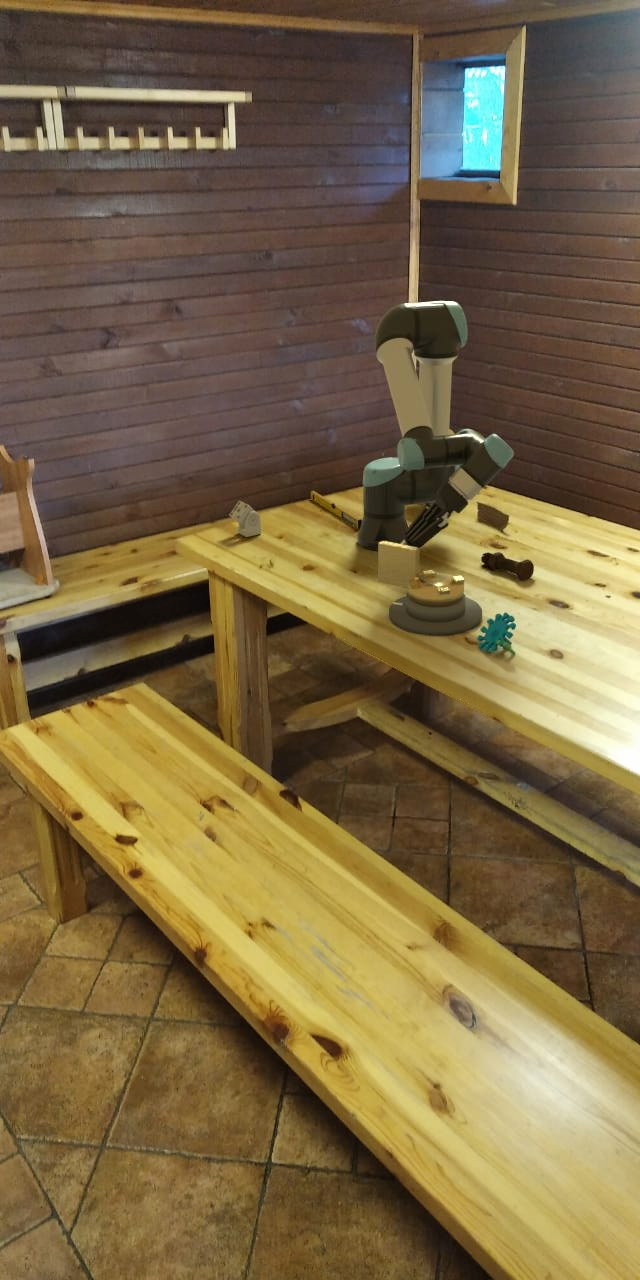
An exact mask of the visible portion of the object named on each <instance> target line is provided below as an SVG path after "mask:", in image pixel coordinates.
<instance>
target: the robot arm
mask: <svg viewBox="0 0 640 1280" xmlns="http://www.w3.org/2000/svg"><path fill="white" fill-rule="evenodd" d="M373 341H374V343H373V344H374V352H375V355H376V359H377V360H378V362H379V363H381V364H382V367H383V368H384V373H385V377H386V380H387V384H388V388H389V391H390V394H391V399H392V402H393V403H392V404H393V406H394V409H395V414H396V417H397V421H398V424H399V425H398V426H399V428H400V432H401V437H402V438H400V440H399V441H398V443H397V447H396V452H397V453H396V454H397V457H383V458H379V459H375V460H373V461H371V462H369V463H368V464H366V466H365V467H364V469H363V473H362V474H363V475H362V477H363V478H362V490H363V491H362V492H363V493H362V494H363V499H362V500H363V503H362V505H363V506H362V507H363V517H362V523H361V527H360V528H359V531H358V533H357V544H358V545H359V546H360V547H362V548H364V549H367V550H371V551H378V543H379V542H381V541H387V542H392V543H397V544H402V545H408V546H413V547H418V548H420V549H422V548H423V546H425V545H426V544H427V543H428V542H429V541H430V540H432V539H433V538H434V537H435V536H436V535H437V534H439V533H440V532H441V531H442V530H443V531H444V529H446V528H448V527H449V522H447V521H448V519H449V518H450V517H451V516H452V514H453V513H454V512H455V513H456V514H461V512H462V511H464V509H465V508H466V507H467V506H468V505H469V502H468V501H469V500H470V501H473V499H475V497H476V496H478V495H480V494H481V492H482V490H483V489H484V488H486V486H487V485H488V484H489V483H490V482H491V481H492V480H493V479H494V478H495V477H496V476H498V474H499V473H500V472H501V471H502V470H503V469H504V468H505V467H506V466H507V464H508V463H509V462H510V461H511V459H513V457H514V455H515V452H514V450H513V449H512V448H511V446H510V445H509V444H507V442H506V441H505V440H503V439H502V438H501V437H500V436H499V435H497V434H496V433H492V434H490V435H489V436H488V437H486V438H485V437H484V436H483V435H482V434H481V433H480V432H478V431H476V430H473V429H471V428H463V429H461V430H459V431H458V432H456V433H454V434H455V435H449V429H450V417H451V416H450V415H451V397H452V375H453V371H452V370H453V362H454V361H455V360H456V359H457V358H458V357H459V348H463V347H465V346H466V344H467V341H468V324H467V318H466V315H465V312H464V310H463V308H462V306H461V305H460V304H459V303H458V302H456V301H446V300H434V301H426V302H425V301H424V302H412V303H408V302H405V303H404V302H403V303H400V304H397V305H395V306H393V307H392V308H390V309H389V310H388V311H386V312H385V314H384V315H383V316H382V318H380V321H379V323H378V325H377V327H376V329H375V334H374V339H373ZM412 354H413V355H412ZM413 356H414V357H415V358H416V360H417V361H418V362H419V369H418V370H419V373H417V370H416V367H415V363H414V358H413ZM418 374H419V377H418ZM423 504H424V506H423V507H422V509H421V511H420V512H419V513H418V514H417V516H416V517H415V519H413V521H412V523H411V524H410V525H409V524H408V522H407V518H406V506H412V505H423Z"/></svg>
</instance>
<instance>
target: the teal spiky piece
mask: <svg viewBox="0 0 640 1280" xmlns="http://www.w3.org/2000/svg"><path fill="white" fill-rule="evenodd" d="M494 617H495V618H494V619H493V618H491V617H490V618H489V619H487V620H486V623H487V624H488V627H486V626H484V625H483V626H482V627H481V628H480V629H479V631H480V632H481V633H482V634H484V636H482V635H481V634H478V636H477V638H476V640H477V641H478V642H479V643H478V645H477V646H478V648H479V649H480V650H483V651H484V652H485V653H489V652H490V650H491V651H492V652H497V651H498V648H499V647H501V648H502V650H504V651H505V652H509V653H510V654H511V655H513V656H515V655H516V653H517V652H516V651H514V650H513V649H512V648H511V646H512V644H513V643H512V641H511V640H510V639H512V638H513V636H514V634H513V633H512V632H511V631H508V630H510V629H511V630H513V631H514V630H515V629H516V628H517V624H516V623H515V621H516V619H515V617H514V616H513V615H510V614H509V613H508V612H504V613H503V614H501V613H496V614H495V616H494ZM498 646H499V647H498Z"/></svg>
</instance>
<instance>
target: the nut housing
mask: <svg viewBox="0 0 640 1280" xmlns="http://www.w3.org/2000/svg"><path fill="white" fill-rule="evenodd" d="M388 619H389V621H390V622H391V623H392V625H394V626H395V627H396V628H398V629H400V630H402V631H404V632H408V633H411V634H416V635H421V636H430V637H432V636H433V637H442V636H443V637H444V636H455V635H459V634H463V633H467V632H469V631H471V630H473V629H475V628H476V627H477V626H479V625H480V624H481V622H482V619H483V608H482V606H481V605H480V604H479V603H478V602H477V601H475V600H473V599H471V598H469V597H468V596H466V594H465V593H464V597H463V599H462V600H461V601H460V602H458V603H456V604H453V605H449V606H441V607H433V606H425V605H420V604H417V603H415V602H413V601H411V600H410V599H409V597H408V592H406V594H405V595H404V596H401V597H400V598H397V599H396V600H394V601H393V602H391V604H390V605H389V607H388Z"/></svg>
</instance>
